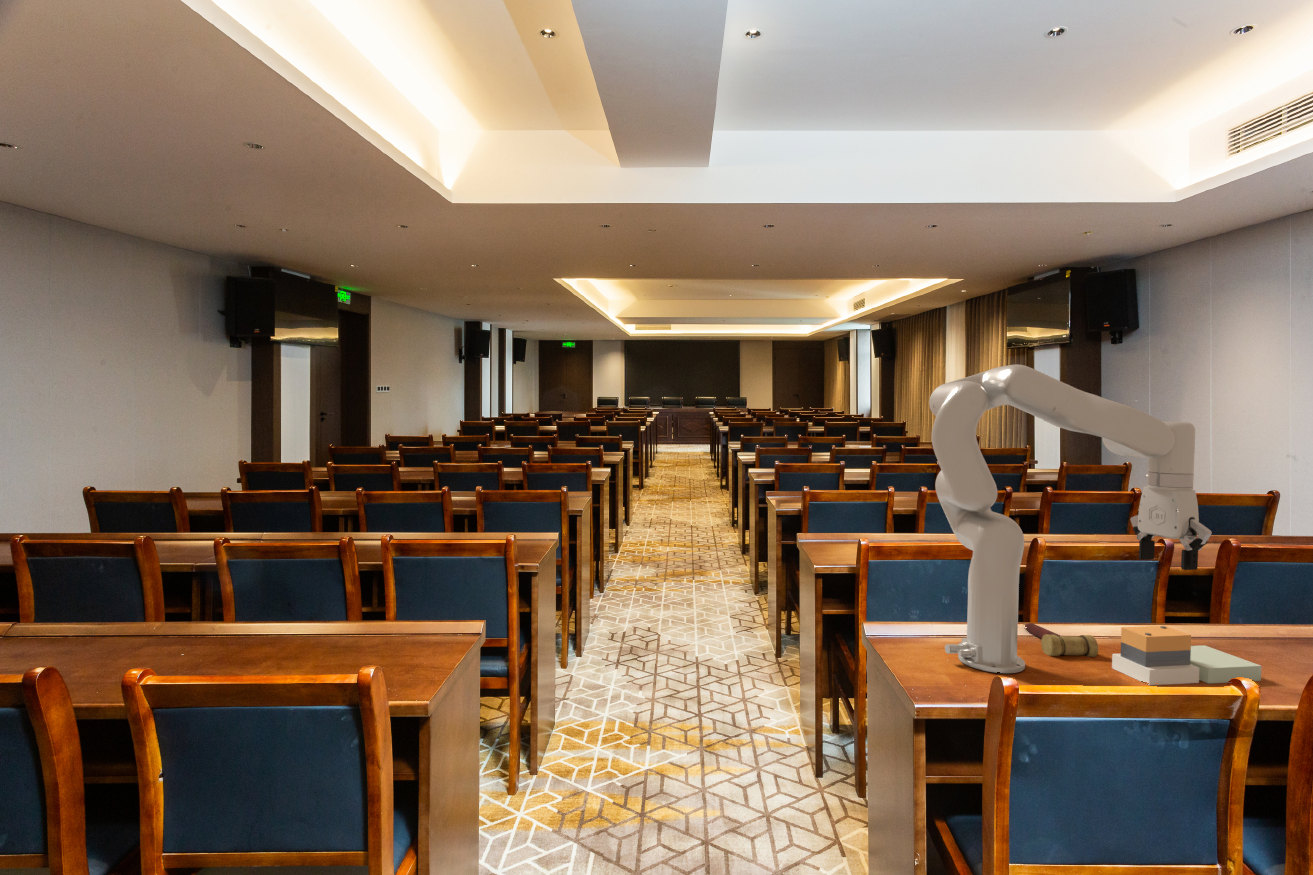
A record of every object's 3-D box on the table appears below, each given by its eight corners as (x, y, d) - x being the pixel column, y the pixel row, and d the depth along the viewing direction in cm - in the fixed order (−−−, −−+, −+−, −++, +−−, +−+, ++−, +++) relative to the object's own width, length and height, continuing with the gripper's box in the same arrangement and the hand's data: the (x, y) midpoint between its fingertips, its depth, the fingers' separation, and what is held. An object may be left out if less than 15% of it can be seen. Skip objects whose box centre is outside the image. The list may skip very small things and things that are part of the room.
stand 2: (1208, 683, 133) (1208, 668, 133) (1154, 661, 145) (1155, 647, 145) (1260, 680, 135) (1261, 665, 135) (1204, 658, 147) (1204, 645, 146)
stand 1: (1149, 685, 132) (1149, 669, 132) (1111, 667, 141) (1112, 653, 141) (1198, 682, 133) (1199, 667, 133) (1158, 665, 142) (1159, 651, 142)
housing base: (1145, 666, 133) (1145, 651, 133) (1120, 656, 139) (1121, 641, 139) (1190, 664, 135) (1190, 649, 134) (1163, 654, 141) (1164, 639, 140)
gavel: (1003, 615, 167) (1044, 616, 167) (1003, 634, 167) (1044, 634, 167) (1052, 637, 146) (1098, 638, 146) (1052, 658, 146) (1099, 659, 146)
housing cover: (1145, 651, 133) (1146, 635, 133) (1121, 641, 139) (1121, 626, 139) (1190, 649, 134) (1191, 634, 134) (1164, 639, 140) (1164, 624, 140)
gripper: (1119, 477, 147) (1116, 555, 148) (1194, 486, 130) (1191, 574, 131) (1148, 477, 149) (1146, 555, 149) (1227, 485, 132) (1223, 573, 132)
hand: (1167, 564), depth 140 cm, fingers open, 9 cm apart
